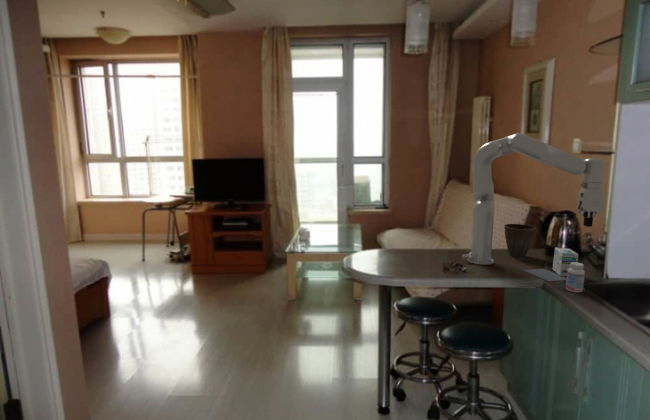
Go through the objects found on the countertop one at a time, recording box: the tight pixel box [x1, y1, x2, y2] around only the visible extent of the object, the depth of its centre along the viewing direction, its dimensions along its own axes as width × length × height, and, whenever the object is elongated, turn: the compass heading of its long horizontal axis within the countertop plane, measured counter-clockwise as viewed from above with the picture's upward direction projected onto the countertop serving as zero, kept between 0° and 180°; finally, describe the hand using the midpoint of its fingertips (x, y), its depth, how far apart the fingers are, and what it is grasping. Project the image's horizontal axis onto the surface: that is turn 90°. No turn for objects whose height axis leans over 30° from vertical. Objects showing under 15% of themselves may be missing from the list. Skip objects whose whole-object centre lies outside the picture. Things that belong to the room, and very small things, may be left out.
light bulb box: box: [552, 247, 579, 277], centre depth 187 cm, size 11×7×11 cm, turn 168°
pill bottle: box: [565, 262, 586, 293], centre depth 166 cm, size 6×6×11 cm
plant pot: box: [503, 223, 537, 259], centre depth 216 cm, size 15×15×16 cm
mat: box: [522, 268, 567, 283], centre depth 186 cm, size 11×16×1 cm
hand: (587, 225), depth 187 cm, fingers closed
